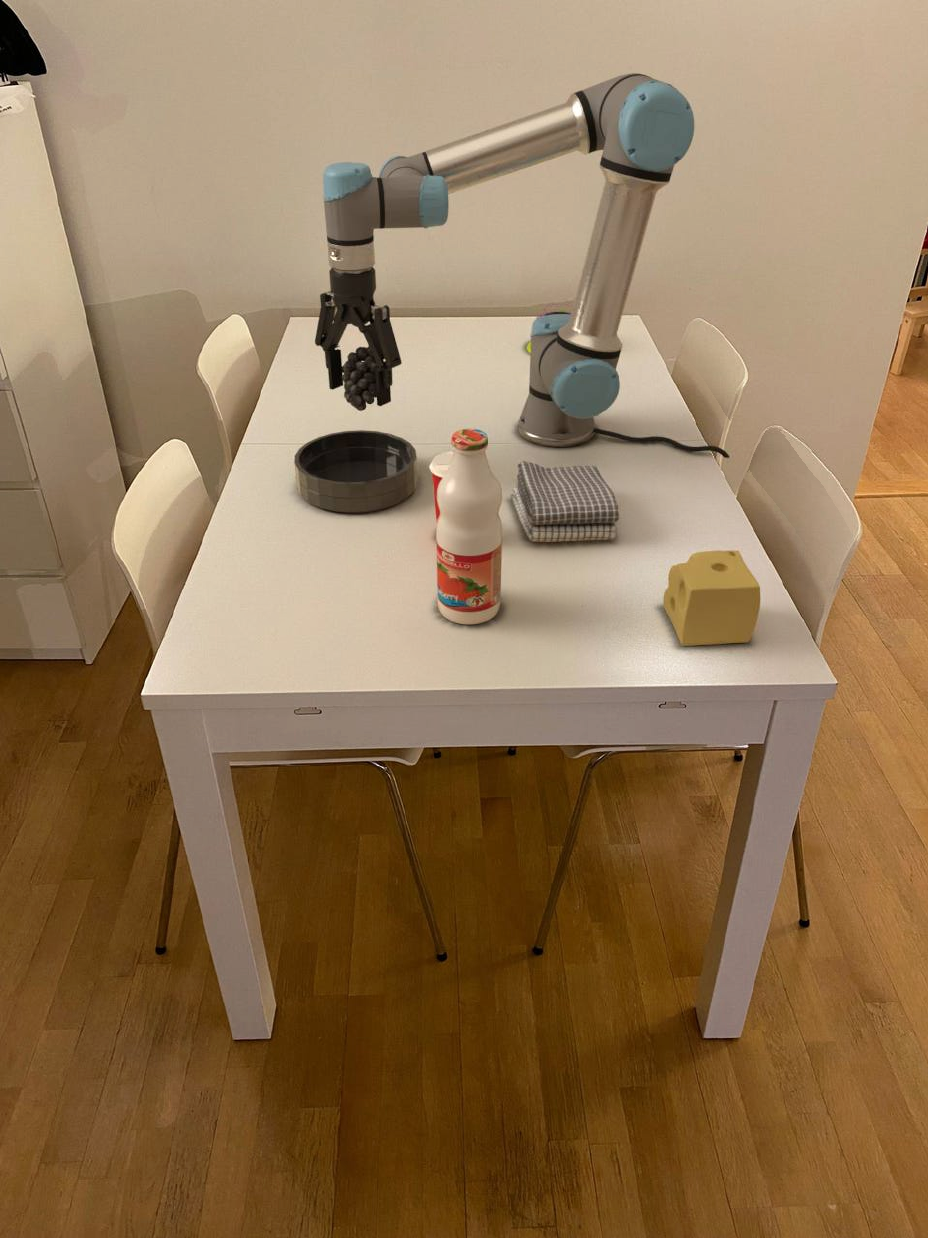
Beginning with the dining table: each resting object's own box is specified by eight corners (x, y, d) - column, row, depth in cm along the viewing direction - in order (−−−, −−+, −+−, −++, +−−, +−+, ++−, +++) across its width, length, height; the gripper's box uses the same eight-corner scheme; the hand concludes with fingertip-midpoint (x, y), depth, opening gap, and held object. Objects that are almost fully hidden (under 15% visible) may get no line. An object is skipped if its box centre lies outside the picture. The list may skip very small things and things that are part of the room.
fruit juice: (513, 608, 149) (519, 436, 132) (467, 634, 143) (468, 457, 127) (470, 583, 154) (470, 415, 138) (424, 607, 149) (419, 434, 133)
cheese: (661, 607, 149) (669, 550, 143) (731, 604, 150) (742, 547, 144) (679, 649, 140) (688, 590, 135) (754, 645, 141) (766, 586, 135)
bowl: (441, 481, 182) (440, 451, 179) (360, 527, 168) (357, 496, 165) (355, 449, 193) (353, 420, 190) (272, 490, 179) (269, 460, 176)
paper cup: (483, 529, 168) (484, 453, 160) (468, 551, 162) (469, 474, 154) (440, 521, 170) (438, 446, 162) (424, 543, 164) (421, 466, 156)
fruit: (363, 367, 163) (382, 334, 175) (318, 380, 166) (339, 347, 178) (383, 414, 168) (399, 379, 180) (339, 426, 170) (358, 390, 182)
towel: (529, 550, 162) (531, 507, 158) (509, 497, 177) (510, 457, 173) (619, 543, 164) (624, 501, 160) (592, 491, 179) (596, 451, 174)
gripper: (286, 259, 166) (298, 385, 178) (389, 286, 154) (394, 419, 166) (318, 249, 170) (328, 372, 183) (421, 275, 158) (424, 405, 171)
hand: (359, 395), depth 175 cm, fingers closed on fruit, 11 cm apart
